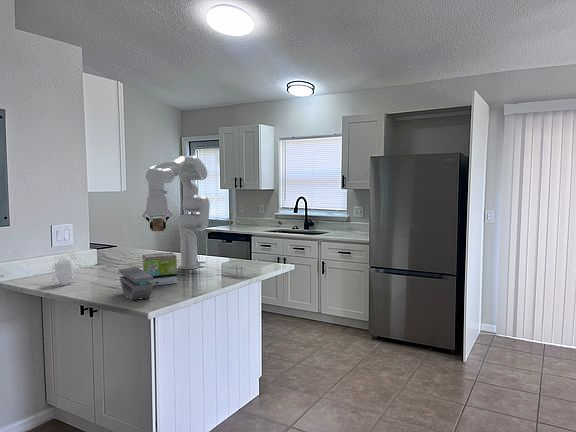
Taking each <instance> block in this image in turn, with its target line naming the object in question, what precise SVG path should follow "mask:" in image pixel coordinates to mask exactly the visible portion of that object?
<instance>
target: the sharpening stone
mask: <svg viewBox="0 0 576 432" xmlns="http://www.w3.org/2000/svg"><path fill="white" fill-rule="evenodd" d="M118 273H119V274H121V275H123V276H121V275H120V276H119V281H120V282H119V283H120V285H121V289H122V292H123V295H124V297H126V296H127V297H128V298H129V299H128V298H127V297H126V298H127V299H128V300H130V299H131V300H133V301H136V300H135V299H139V300H141V299H140V298H145V299H147V298H146V297H149V298H150V297H151V295H152V292H153V288H154V287H153V286H154V285H153V283H151V282H149V281H150V280H153V276H151V275H150V274H148V273H146V272H144V271H143V269H140V268H138V267H137V266H136V267H134V266H133V267H126V268H119V269H118ZM131 300H130V301H131Z"/></svg>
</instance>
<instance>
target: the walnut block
mask: <svg viewBox="0 0 576 432" xmlns="http://www.w3.org/2000/svg"><path fill="white" fill-rule="evenodd" d="M152 223H153V231H152V232H164V230H163V217H155V218H154V217H153V218H152Z"/></svg>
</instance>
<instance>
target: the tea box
mask: <svg viewBox="0 0 576 432" xmlns="http://www.w3.org/2000/svg"><path fill="white" fill-rule="evenodd" d="M177 263H178V262H177V255H176V254H175V253H174V252H161V253H160V252H159V253H148V254H147V253H145V254H142V271H144V272H146V273H148V274H150V275H151V276H153V280H150V281H149V282H151V283H153V286H161V285H163V286H164V285H170V284H171V285H172V283H175V284H177V283H178V272H177V271H178V268H177V265H178V264H177Z"/></svg>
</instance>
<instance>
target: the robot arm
mask: <svg viewBox="0 0 576 432" xmlns="http://www.w3.org/2000/svg"><path fill="white" fill-rule="evenodd" d="M176 177H178V178H179V180H180V182H181V184H182V187H183V193H182V194H183V195H182V210H183V211H184V212H186V213H184V214H181V215H180V216H179V217H178V219H177V224H178V225H177V226H178V230H179V231H178V232H179V242H180V264H179V265H178V269H180V270H193V269H194V270H195V269H199V268H200V267H201V264H206V259H198V239H197V235H196V233H195V232H194V231H205V230H207V229H208V226H209V221H210V220H209V217H210V210H211V209H210V207H211V206H210V200H209V198H208V197H207V196H204V195H199V187H198V185H197V184H196V183H195V181H205V180H206V179H207V177H208V169H207V167H206V166H205V164H204V163H203V162H202V160H201V159H200V158H199V157H198V156H196V155H180V156H177V157H175V158H174V159H172V160H171V161H167V162H163V163H159V164H156V165H153V166H150V168H149V167H148V169H147V170H146V173H145V179H146V181H147V186H148V196H146V209H145V211H144V212H143V214H142V215H141V217H142V218H144V219H145V220H146V221H147V222H148V223H149V230H151V231H152V232H154V231H153V223H152V218H154V217H161V218H163V231H165V229H166V228H167V221H168V220H169V219H170V218H171V217H173V213H172V212H171V210H169V207H168V201H167V196H166V195H167V194H168V190H165V184H169V183H172V182H173V181H175V179H176Z"/></svg>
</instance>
